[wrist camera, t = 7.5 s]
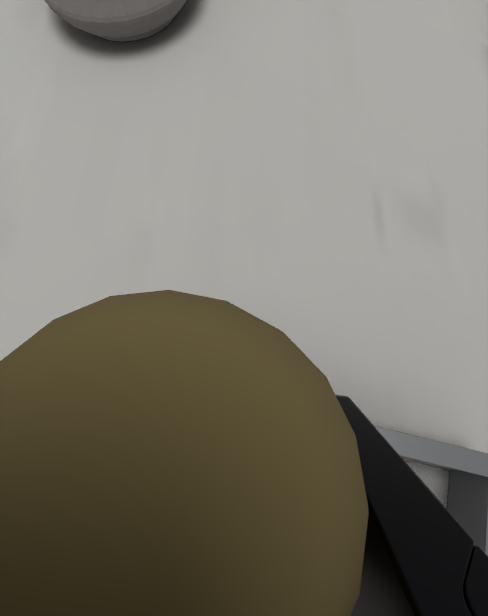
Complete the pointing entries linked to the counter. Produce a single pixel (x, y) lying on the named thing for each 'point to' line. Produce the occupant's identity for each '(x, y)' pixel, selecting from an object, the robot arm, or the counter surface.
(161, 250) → the counter surface
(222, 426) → the cork
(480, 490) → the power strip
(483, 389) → the counter surface
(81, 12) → the coffee pot
